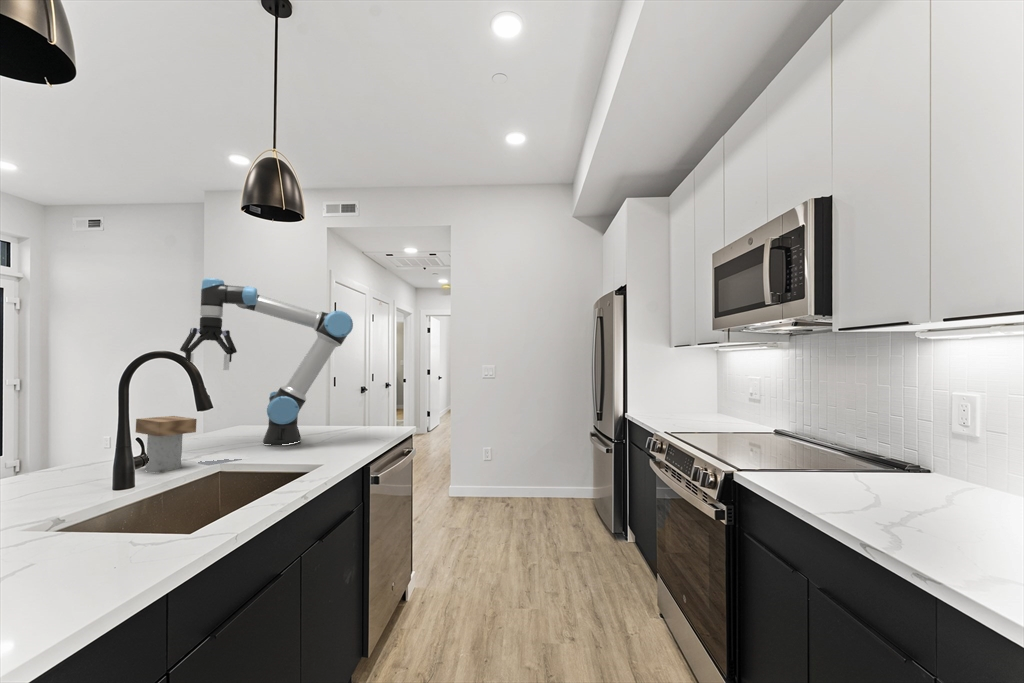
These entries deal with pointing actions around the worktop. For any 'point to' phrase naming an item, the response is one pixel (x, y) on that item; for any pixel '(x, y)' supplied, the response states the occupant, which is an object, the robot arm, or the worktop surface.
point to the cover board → (165, 425)
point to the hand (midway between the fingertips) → (208, 370)
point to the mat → (217, 461)
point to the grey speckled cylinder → (164, 452)
